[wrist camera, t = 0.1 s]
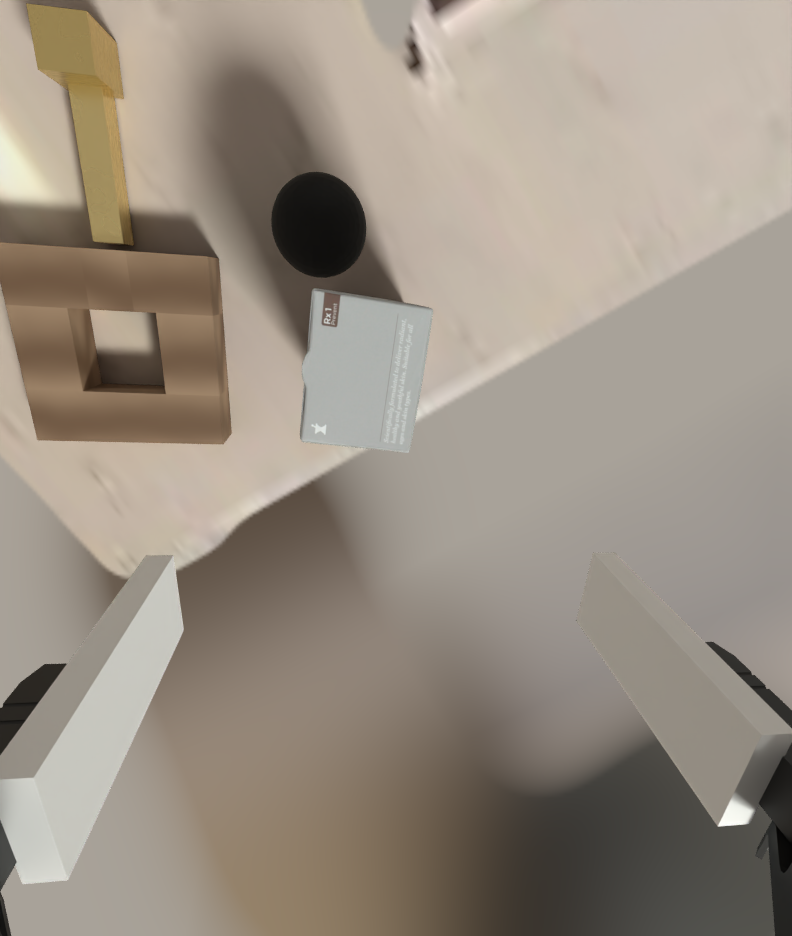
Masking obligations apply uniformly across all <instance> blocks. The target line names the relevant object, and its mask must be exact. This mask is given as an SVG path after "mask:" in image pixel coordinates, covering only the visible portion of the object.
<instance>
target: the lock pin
mask: <svg viewBox="0 0 792 936" xmlns="http://www.w3.org/2000/svg"><path fill="white" fill-rule="evenodd" d="M26 5H27V11H28V16H29V22H30V28H31V33H32V39H33V44H34V50H35V55H36V61H37V67H38V70H40V71H41V72H43V73H44V74H46V75H47V76H48V77H50V78H51V79H53V80H54V81H56V82H57V83H58V84H60V85H61V86H63V87H64V88H66V89H67V90H68V91H69V96H70V102H71V108H72V114H73V120H74V126H75V133H76V139H77V145H78V151H79V157H80V163H81V170H82V176H83V182H84V188H85V194H86V200H87V207H88V213H89V219H90V225H91V231H92V237H93V242H99V243H105V244H119V245H134V242H133V234H132V227H131V219H130V212H129V204H128V197H127V189H126V182H125V174H124V167H123V159H122V152H121V144H120V137H119V129H118V122H117V114H116V107H115V99H114V98H120V99H124V97H123V89H122V81H121V73H120V65H119V57H118V49H117V43H116V42H115V40H114V39H113V38H112V37H111V36H110V35H109V34H108V33H107V32H106V31H105V30H104V29H103V28H102V27H101V26H100V25H99V24H98V22H97V21H96V20H95V19H94V18H93V17H92V16H91V15H90V14H89V13H88V12H87V11H83V10H75V9H67V8H59V7H51V6H43V5H35V4H27V3H26Z"/></svg>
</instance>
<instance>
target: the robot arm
mask: <svg viewBox="0 0 792 936" xmlns="http://www.w3.org/2000/svg"><path fill="white" fill-rule="evenodd" d="M576 621H577V623H578V624H579V625H580V627H581V628H582V630H583V631H584V633H585V634H586V636H587V637H588V639H589V640H590V641H591V643H592V644H593V646H594V647H595V649H596V650H597V652H598V653H599V655H600V656H601V657H602V659H603V660H604V662H605V663H606V665H607V666H608V668H609V669H610V671H611V672H612V673H613V675H614V676H615V678H616V679H617V680H618V682H619V684H620V685H621V686H622V688H623V689H624V691H625V692H626V694H627V695H628V697H629V698H630V700H631V701H632V702H633V704H634V705H635V707H636V708H637V710H638V711H639V712H640V714H641V716H642V717H643V718H644V720H645V721H646V723H647V724H648V725H649V727H650V729H651V730H652V731H653V733H654V734H655V736H656V737H657V739H658V740H659V742H660V743H661V745H662V746H663V748H664V749H665V750H666V752H667V753H668V754H669V756H670V758H671V759H672V761H673V762H674V763H675V765H676V766H677V768H678V769H679V771H680V772H681V773H682V775H683V777H684V778H685V779H686V781H687V782H688V784H689V785H690V787H691V788H692V790H693V791H694V793H695V794H696V795H697V797H698V798H699V799H700V801H701V803H702V804H703V806H704V807H705V809H706V810H707V811H708V813H709V814H710V816H711V817H712V819H713V820H714V822H715V823H716V824H717V826H729V825H740V824H750V822H751V820H752V818H753V816H754V814H755V812H756V810H757V809H758V807H759V805H760V806H761V807H762V808H763V809H764V811H765V812H766V813H767V814H768V816H769V817H770V818H771V819H772V822H771V824H770V825H769V827H768V829H767V831H766V833H765V834H764V837H763V838H762V840H761V842H760V844H759V846H758V848H757V851H756V857H758V858H760V859H762V858H763V856H764V854H765V852H766V851H767V850H769V859H770V873H771V886H772V900H773V912H774V927H775V936H792V710H790V708H789V707H788V706H786V705H785V704H784V703H783V702H782V701H781V700H780V699H779V698H778V697H777V696H776V695H775V694H774V693H773V692H772V691H771V690H770V689H766V687H765V685H764V684H763V683H762V682H761V681H760V680H759V679H758V678H757V677H756V676H755V675H752V674H751V671H750V670H749V669H748V668H747V667H746V666H745V665H744V664H742V663H741V662H740V661H739V660H738V659H737V658H736V657H735V656H734V655H732V654H731V653H729V652H727V651H726V650H725V649H723V648H721V647H720V646H718V645H717V644H715V643H714V642H704V641H703V640H702V639H701V638H700V637H699V636H698V635H697V634H696V633H695V632H694V631H693V630H692V629H691V628H690V627H689V626H688V625H687V624H686V623H685V622H684V621H683V620H682V619H681V618H680V617H679V616H678V615H677V614H676V613H675V612H674V611H673V610H672V609H671V608H670V607H669V606H668V605H667V604H666V603H665V602H664V601H663V600H662V599H661V598H660V597H659V596H658V595H657V594H656V593H655V592H654V591H653V590H652V589H651V588H650V587H649V586H648V585H647V584H646V583H645V582H644V581H643V580H642V579H641V578H640V577H639V576H638V575H637V574H636V573H635V572H634V571H633V570H632V569H631V568H630V567H629V566H628V565H627V564H626V563H625V562H624V561H623V560H622V559H621V558H620V557H619V556H618V555H617V554H616V553H593V555H592V559H591V563H590V567H589V571H588V575H587V579H586V583H585V587H584V591H583V595H582V599H581V603H580V608H579V612H578V615H577V620H576ZM183 631H184V629H183V622H182V614H181V607H180V600H179V593H178V585H177V578H176V570H175V563H174V556H173V555H161V556H145V558H144V559H143V560H142V562H141V563H140V565H139V566H138V567H137V569H136V570H135V571H134V573H133V574H132V576H131V577H130V578H129V580H128V581H127V582H126V584H125V585H124V586H123V588H122V589H121V591H120V592H119V593H118V595H117V596H116V598H115V599H114V600H113V602H112V603H111V605H110V606H109V607H108V609H107V610H106V611H105V613H104V614H103V615H102V617H101V618H100V619H99V621H98V622H97V624H96V625H95V626H94V628H93V629H92V631H91V632H90V633H89V634H88V636H87V637H86V639H85V640H84V641H83V643H82V644H81V645H80V647H79V648H78V650H77V651H76V652H75V654H74V655H73V657H72V658H71V659H70V661H69V662H68V663H67V664H44V665H43V666H42V667H40V668H39V669H38V670H36V671H35V672H34V673H32V674H31V675H30V676H29V677H27V678H26V679H25V680H23V681H22V682H20V684H19V685H18V686H17V687H16V689H15V690H14V691H13V692H12V693H11V695H10V696H9V697H8V698H7V700H6V701H5V702H4V703H3V707H2V708H0V891H1V889H2V887H3V885H4V884H5V882H6V880H7V878H8V877H9V875H10V873H11V871H12V869H13V868H14V866H16V868H17V871H18V874H19V876H20V878H21V881H22V883H23V884H30V883H42V882H54V881H65V880H68V879H69V877H70V875H71V872H72V870H73V868H74V866H75V864H76V862H77V860H78V857H79V855H80V853H81V851H82V849H83V847H84V845H85V842H86V840H87V838H88V836H89V834H90V832H91V829H92V827H93V825H94V823H95V821H96V818H97V816H98V814H99V812H100V810H101V808H102V806H103V803H104V801H105V799H106V797H107V795H108V793H109V791H110V788H111V786H112V784H113V782H114V780H115V777H116V775H117V773H118V771H119V769H120V767H121V765H122V762H123V760H124V758H125V756H126V754H127V752H128V750H129V747H130V745H131V743H132V741H133V739H134V737H135V734H136V732H137V730H138V728H139V726H140V724H141V721H142V719H143V717H144V715H145V713H146V711H147V708H148V706H149V704H150V702H151V700H152V698H153V696H154V693H155V691H156V689H157V687H158V685H159V683H160V680H161V678H162V676H163V674H164V672H165V669H166V667H167V665H168V663H169V661H170V659H171V657H172V654H173V652H174V650H175V648H176V646H177V644H178V642H179V639H180V637H181V635H182V633H183ZM0 936H11V932H10V928H9V923H8V918H7V914H6V909H5V904H4V899H3V897H2V895H1V892H0Z"/></svg>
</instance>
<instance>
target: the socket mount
mask: <svg viewBox="0 0 792 936" xmlns="http://www.w3.org/2000/svg"><path fill="white" fill-rule="evenodd" d="M0 282H1V287H2V291H3V295H4V299H5V304H6V308H7V312H8V316H9V321H10V325H11V329H12V333H13V338H14V342H15V346H16V350H17V355H18V359H19V363H20V368H21V372H22V376H23V380H24V385H25V389H26V393H27V397H28V402H29V406H30V410H31V414H32V419H33V423H34V427H35V431H36V436H37V440H52V441H97V442H142V443H188V444H224V443H225V441H226V440H227V439H228V437H229V436H230V435H231V433H232V432H231V418H230V405H229V391H228V378H227V364H226V351H225V337H224V323H223V310H222V296H221V283H220V269H219V259H218V258H213V257H208V256H193V255H178V254H164V253H149V252H134V251H120V250H105V249H90V248H76V247H61V246H46V245H32V244H17V243H2V242H0ZM89 309H94V310H112V311H131V312H150V313H156V319H157V327H158V335H159V343H160V351H161V359H162V367H163V375H164V383H165V386H157V385H129V384H102V381H101V375H100V369H99V363H98V358H97V352H96V346H95V340H94V335H93V329H92V323H91V317H90V311H89Z"/></svg>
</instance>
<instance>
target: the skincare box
mask: <svg viewBox="0 0 792 936" xmlns="http://www.w3.org/2000/svg"><path fill="white" fill-rule="evenodd" d="M432 314H433V310H432V309H431V308H428V307H424V306H419V305H414V304H409V303H404V302H399V301H394V300H388V299H382V298H376V297H370V296H363V295H357V294H350V293H344V292H338V291H331V290H325V289H318V288H314V289H313V290H312V295H311V308H310V321H309V334H308V347H307V354H306V355H305V358H304V361H303V363H302V377H303V381H304V391H303V403H302V415H301V428H300V439H301V441H302V442H306V443H315V444H325V445H335V446H345V447H355V448H366V449H377V450H387V451H397V452H409V451H410V446H411V441H412V436H413V431H414V425H415V420H416V414H417V408H418V403H419V397H420V392H421V386H422V380H423V374H424V367H425V361H426V355H427V349H428V342H429V336H430V329H431V322H432Z"/></svg>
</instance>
